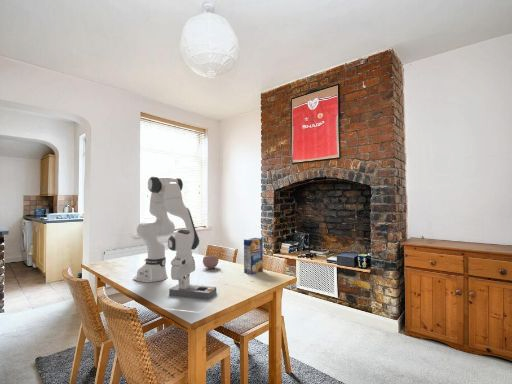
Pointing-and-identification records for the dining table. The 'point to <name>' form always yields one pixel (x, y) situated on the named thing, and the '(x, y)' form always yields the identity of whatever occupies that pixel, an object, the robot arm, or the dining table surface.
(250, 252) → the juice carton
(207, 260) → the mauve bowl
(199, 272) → the dining table surface
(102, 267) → the dining table surface
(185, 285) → the plug
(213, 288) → the power strip
